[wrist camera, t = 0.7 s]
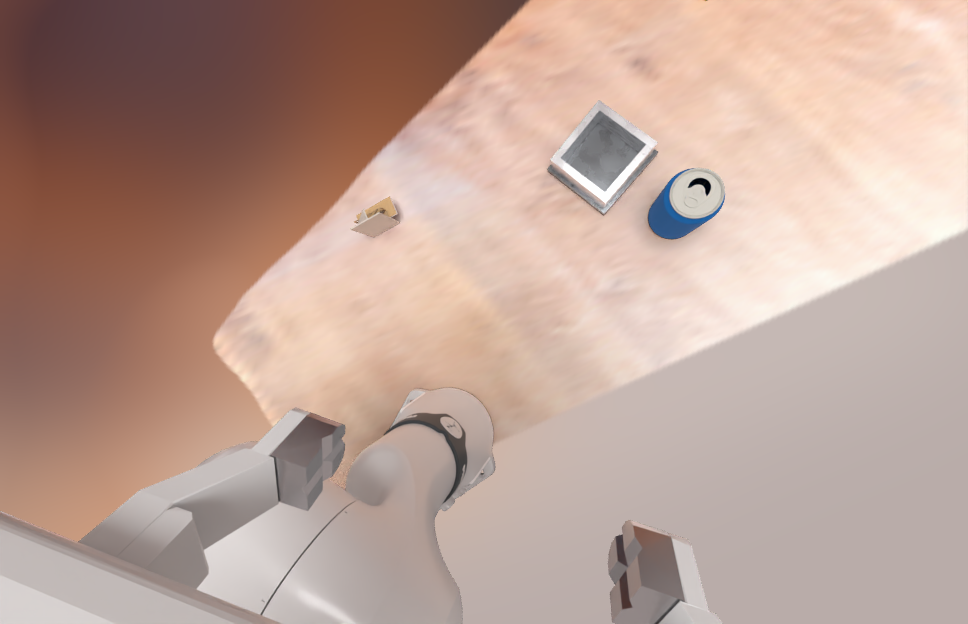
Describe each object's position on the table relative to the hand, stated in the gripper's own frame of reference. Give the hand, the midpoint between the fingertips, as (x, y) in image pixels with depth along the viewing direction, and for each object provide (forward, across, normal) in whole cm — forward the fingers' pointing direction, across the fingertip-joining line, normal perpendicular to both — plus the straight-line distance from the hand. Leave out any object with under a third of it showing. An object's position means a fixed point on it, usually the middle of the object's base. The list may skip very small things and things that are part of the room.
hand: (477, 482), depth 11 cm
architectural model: (+53, -27, -13) cm, 61 cm away
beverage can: (+52, +16, 0) cm, 54 cm away
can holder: (+55, +5, +4) cm, 56 cm away
